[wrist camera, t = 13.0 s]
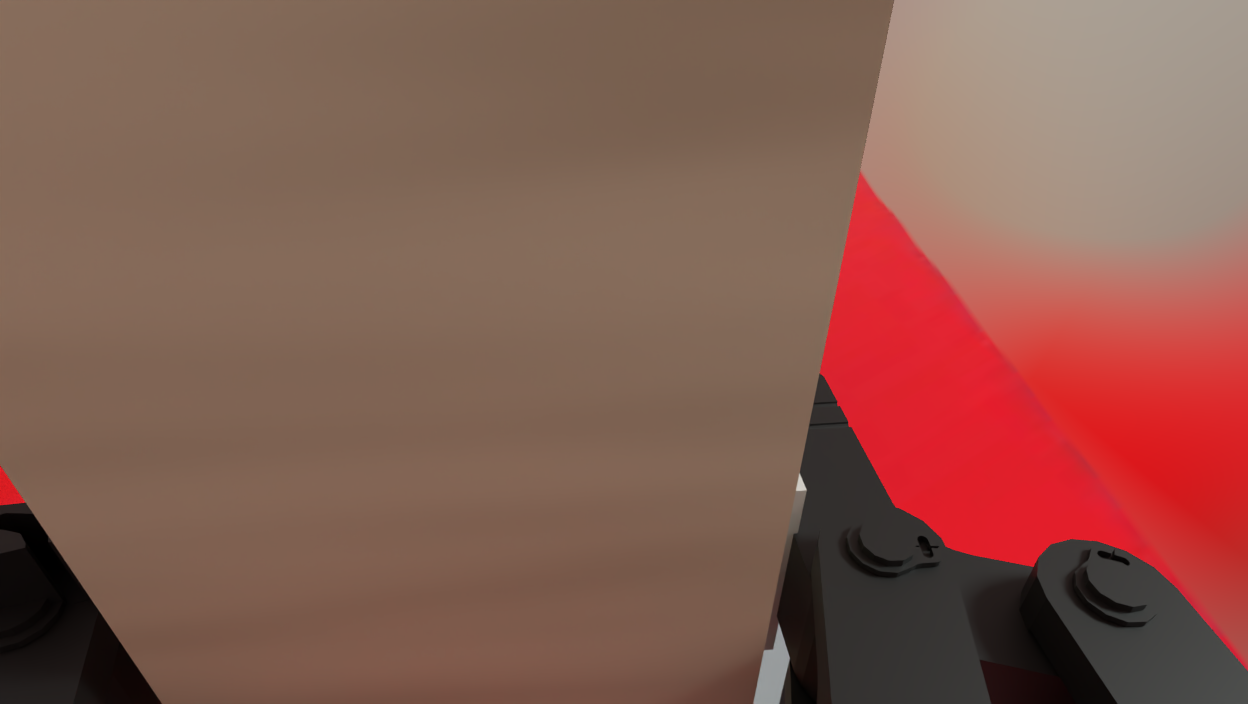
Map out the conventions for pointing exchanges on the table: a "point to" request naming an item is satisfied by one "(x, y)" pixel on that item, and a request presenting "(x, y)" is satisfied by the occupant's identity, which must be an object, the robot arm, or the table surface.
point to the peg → (425, 332)
